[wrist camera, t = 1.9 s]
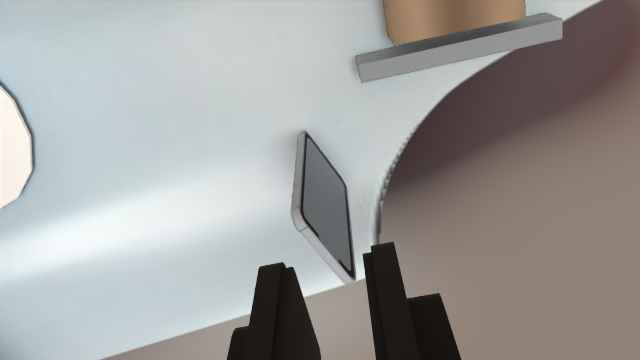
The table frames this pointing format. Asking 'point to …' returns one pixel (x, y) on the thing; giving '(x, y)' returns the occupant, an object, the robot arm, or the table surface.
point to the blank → (445, 17)
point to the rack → (459, 46)
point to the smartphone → (323, 208)
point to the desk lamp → (13, 150)
